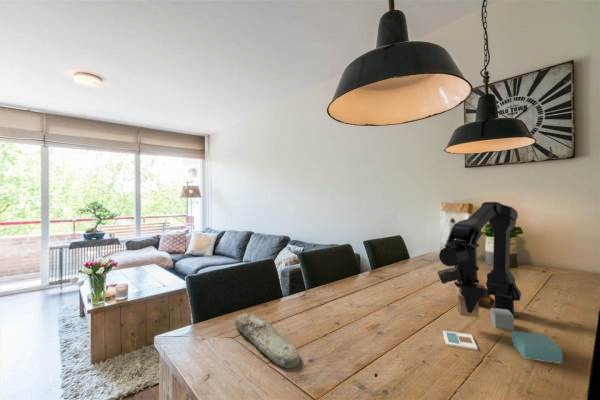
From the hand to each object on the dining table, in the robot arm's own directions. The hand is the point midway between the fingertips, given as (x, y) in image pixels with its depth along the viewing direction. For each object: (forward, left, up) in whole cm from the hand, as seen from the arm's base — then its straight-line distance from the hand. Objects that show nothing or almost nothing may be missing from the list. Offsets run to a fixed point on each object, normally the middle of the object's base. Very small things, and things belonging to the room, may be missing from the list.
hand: (467, 309), depth 87 cm
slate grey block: (-7, +11, -7) cm, 15 cm away
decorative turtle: (-28, +8, -7) cm, 30 cm away
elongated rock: (+27, -61, -8) cm, 67 cm away
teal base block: (+8, +15, -7) cm, 18 cm away
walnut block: (0, 0, -1) cm, 1 cm away
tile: (+8, -4, -7) cm, 11 cm away
